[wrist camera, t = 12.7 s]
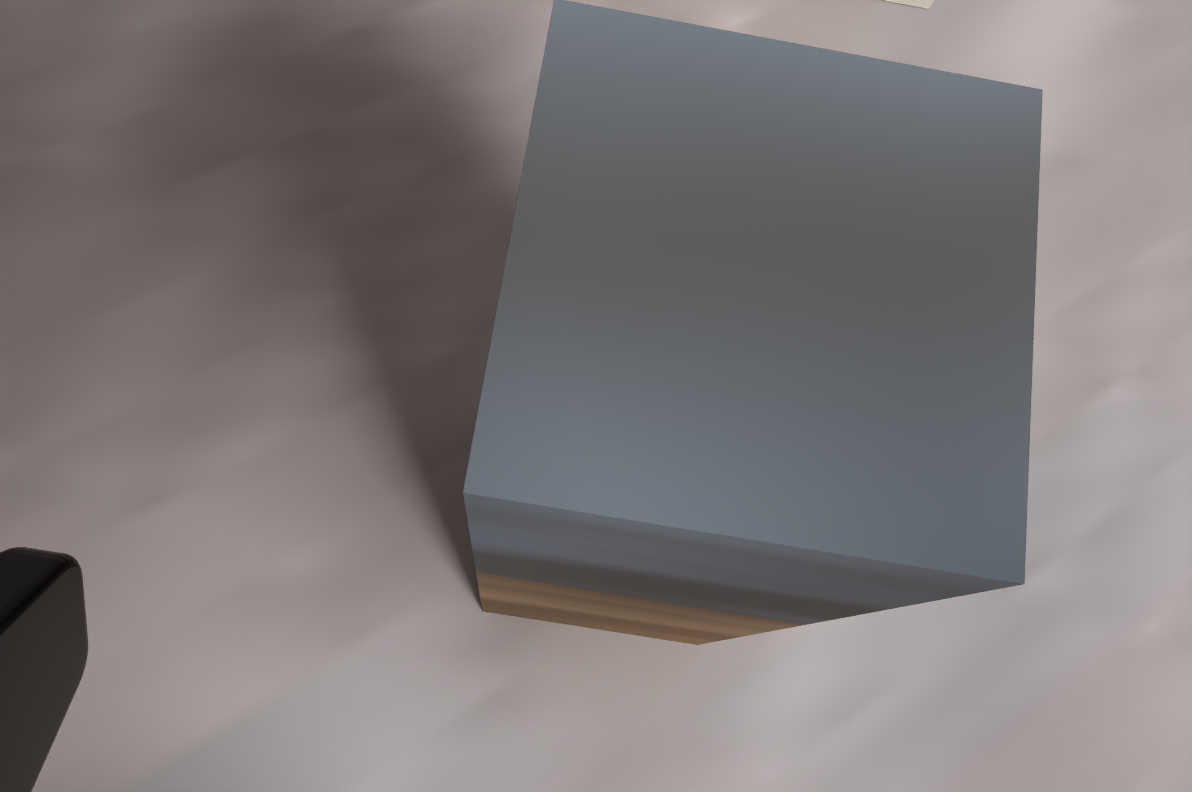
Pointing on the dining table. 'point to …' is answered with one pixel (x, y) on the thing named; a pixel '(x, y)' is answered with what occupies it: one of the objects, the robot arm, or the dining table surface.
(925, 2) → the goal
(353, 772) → the dining table surface
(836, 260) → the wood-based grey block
